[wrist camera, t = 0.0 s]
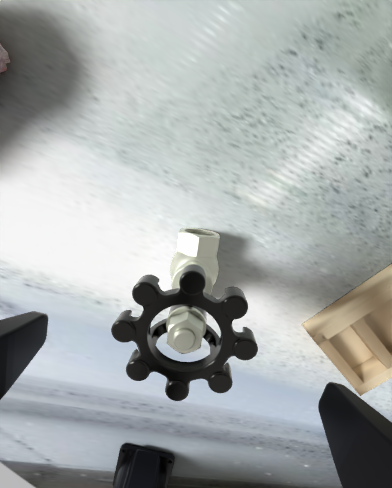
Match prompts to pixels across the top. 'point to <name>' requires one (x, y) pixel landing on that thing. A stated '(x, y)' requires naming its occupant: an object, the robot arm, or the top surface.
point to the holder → (359, 332)
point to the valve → (187, 320)
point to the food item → (3, 59)
